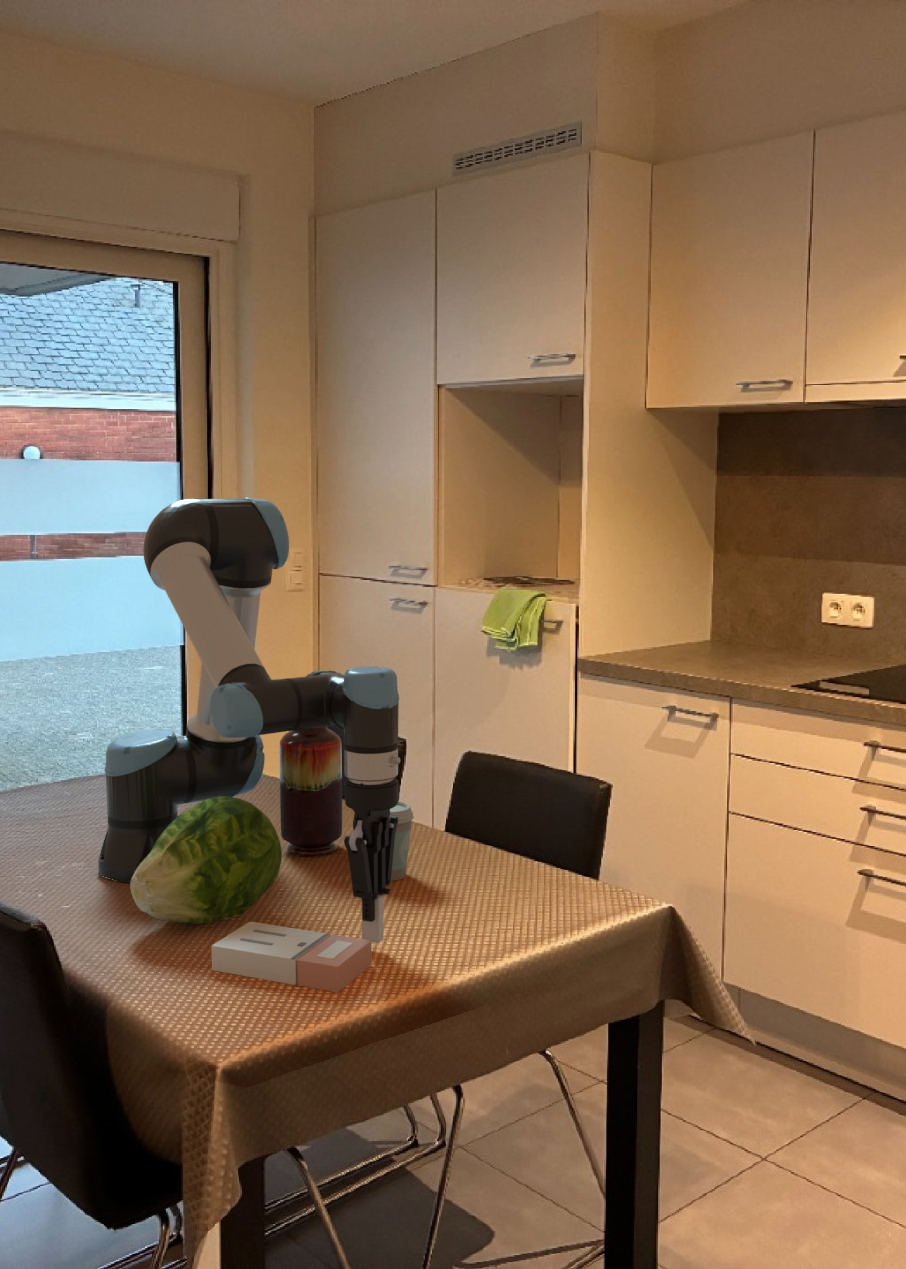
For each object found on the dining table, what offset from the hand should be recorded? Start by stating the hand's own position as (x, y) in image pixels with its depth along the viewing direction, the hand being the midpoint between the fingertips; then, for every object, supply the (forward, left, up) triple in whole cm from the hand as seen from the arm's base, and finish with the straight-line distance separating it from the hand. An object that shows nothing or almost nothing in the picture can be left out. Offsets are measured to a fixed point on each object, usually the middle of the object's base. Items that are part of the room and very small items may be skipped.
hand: (372, 940), depth 178 cm
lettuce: (-29, +2, -2) cm, 29 cm away
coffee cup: (-12, +31, -2) cm, 33 cm away
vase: (-31, +39, -2) cm, 50 cm away
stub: (-1, -10, -1) cm, 10 cm away
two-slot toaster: (-11, -10, -1) cm, 15 cm away
